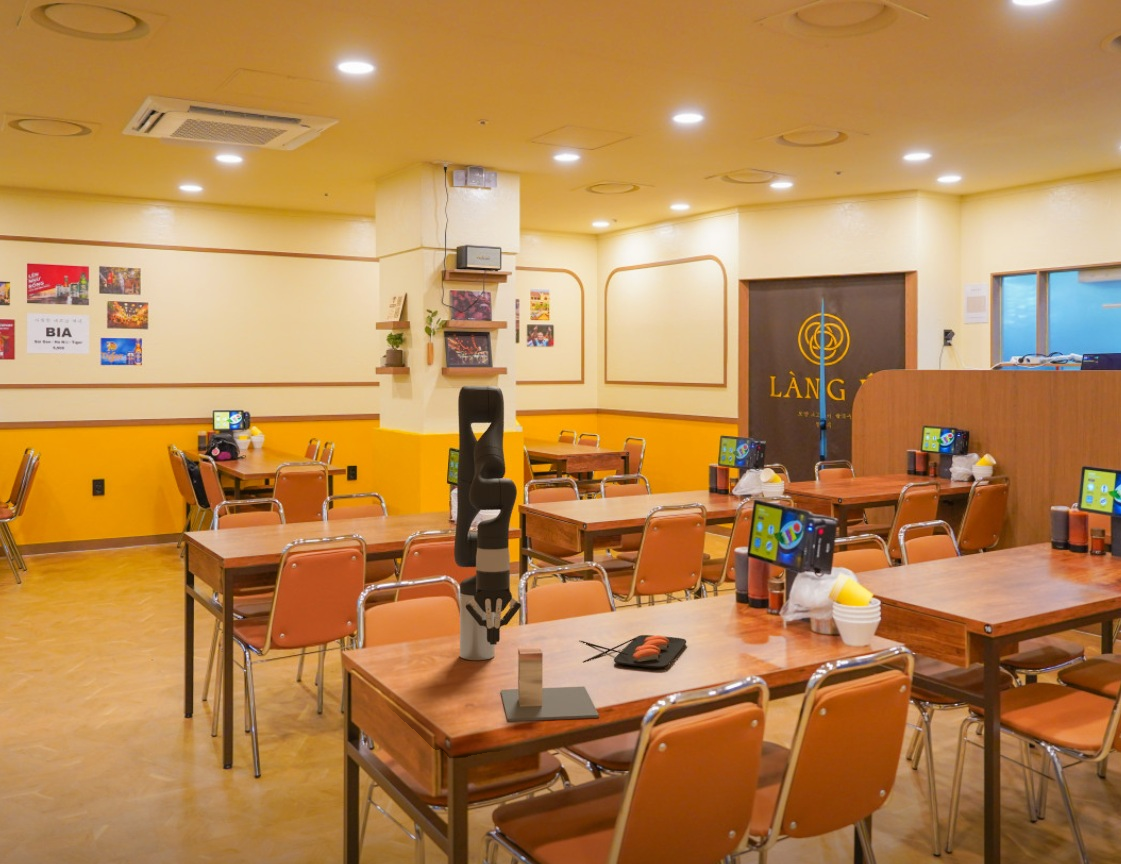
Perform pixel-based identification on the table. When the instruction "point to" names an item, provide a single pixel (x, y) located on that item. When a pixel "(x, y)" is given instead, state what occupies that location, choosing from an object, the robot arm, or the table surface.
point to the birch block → (530, 676)
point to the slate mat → (551, 705)
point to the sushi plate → (646, 651)
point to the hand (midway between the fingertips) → (493, 643)
